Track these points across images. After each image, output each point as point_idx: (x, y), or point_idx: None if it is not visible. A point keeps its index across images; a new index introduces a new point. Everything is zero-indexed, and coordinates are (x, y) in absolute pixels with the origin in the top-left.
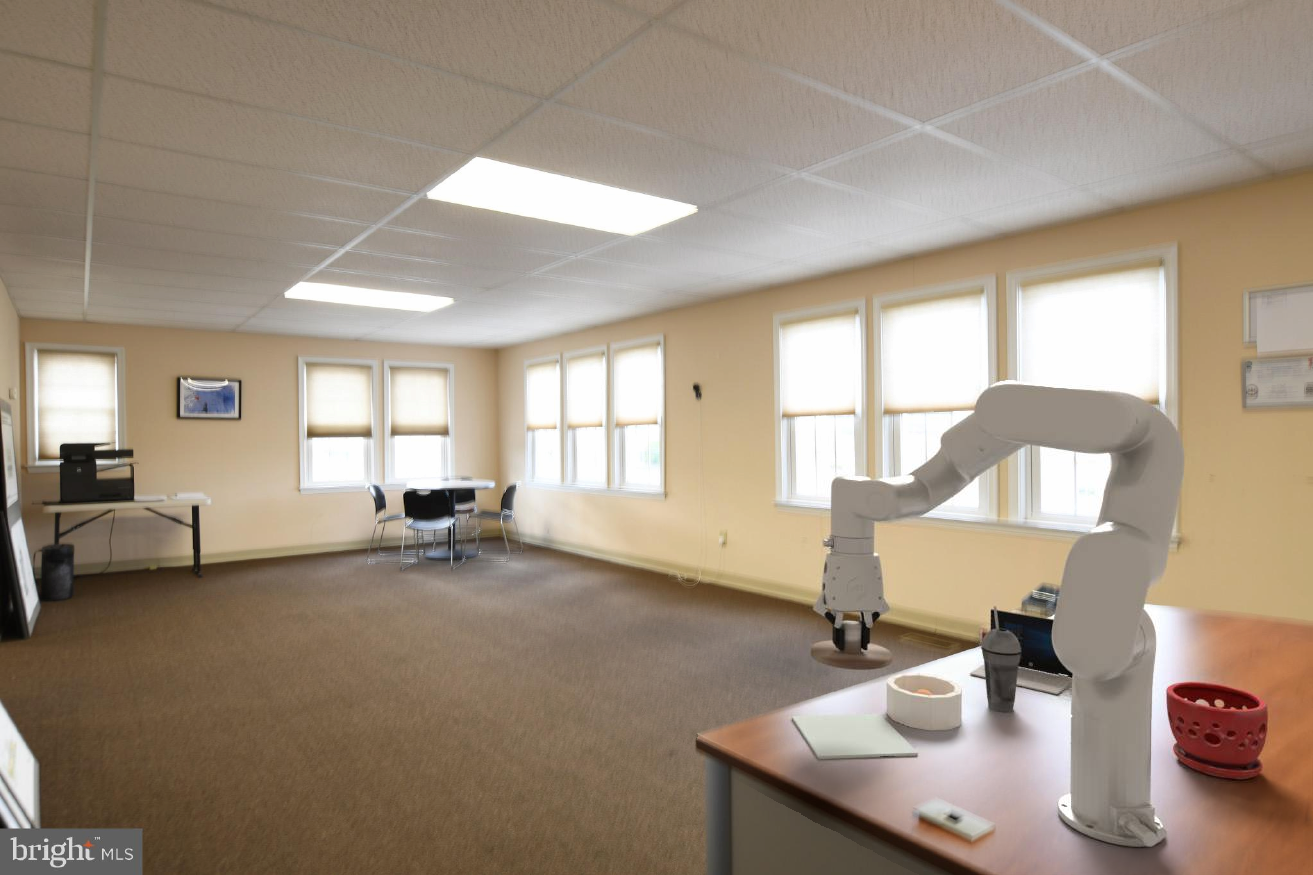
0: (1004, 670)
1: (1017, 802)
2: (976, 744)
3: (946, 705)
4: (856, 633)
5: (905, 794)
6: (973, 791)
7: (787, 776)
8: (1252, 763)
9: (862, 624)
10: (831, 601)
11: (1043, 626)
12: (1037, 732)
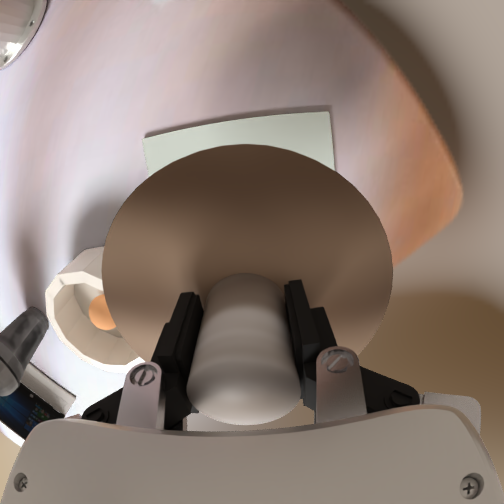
0: (3, 337)
1: (66, 29)
2: (58, 200)
3: (68, 266)
4: (223, 332)
5: (205, 5)
6: (103, 37)
7: (384, 59)
8: None
9: (182, 388)
10: (480, 453)
11: (6, 416)
12: (6, 249)
